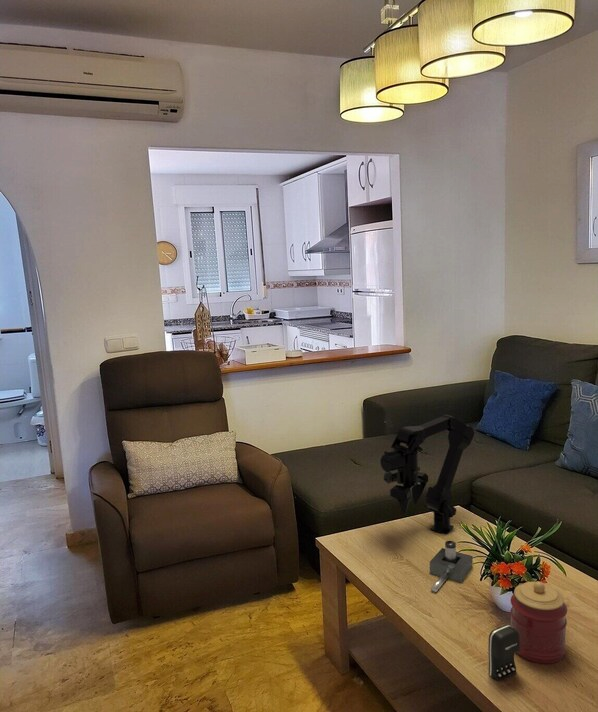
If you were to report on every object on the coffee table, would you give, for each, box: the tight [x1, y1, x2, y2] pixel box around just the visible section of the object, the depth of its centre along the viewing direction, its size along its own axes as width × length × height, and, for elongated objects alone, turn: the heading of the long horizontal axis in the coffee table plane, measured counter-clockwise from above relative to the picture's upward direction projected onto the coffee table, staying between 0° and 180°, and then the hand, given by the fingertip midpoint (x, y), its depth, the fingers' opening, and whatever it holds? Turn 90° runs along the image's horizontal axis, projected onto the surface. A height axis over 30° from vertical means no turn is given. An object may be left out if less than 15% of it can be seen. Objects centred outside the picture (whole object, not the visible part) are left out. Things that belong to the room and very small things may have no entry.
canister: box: [510, 580, 568, 665], centre depth 144 cm, size 13×13×18 cm
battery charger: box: [488, 624, 520, 681], centre depth 136 cm, size 7×4×11 cm, turn 116°
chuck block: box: [429, 547, 474, 594], centre depth 178 cm, size 19×10×4 cm, turn 145°
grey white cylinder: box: [444, 540, 457, 564], centre depth 181 cm, size 3×3×8 cm
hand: (409, 508), depth 200 cm, fingers open, 9 cm apart
